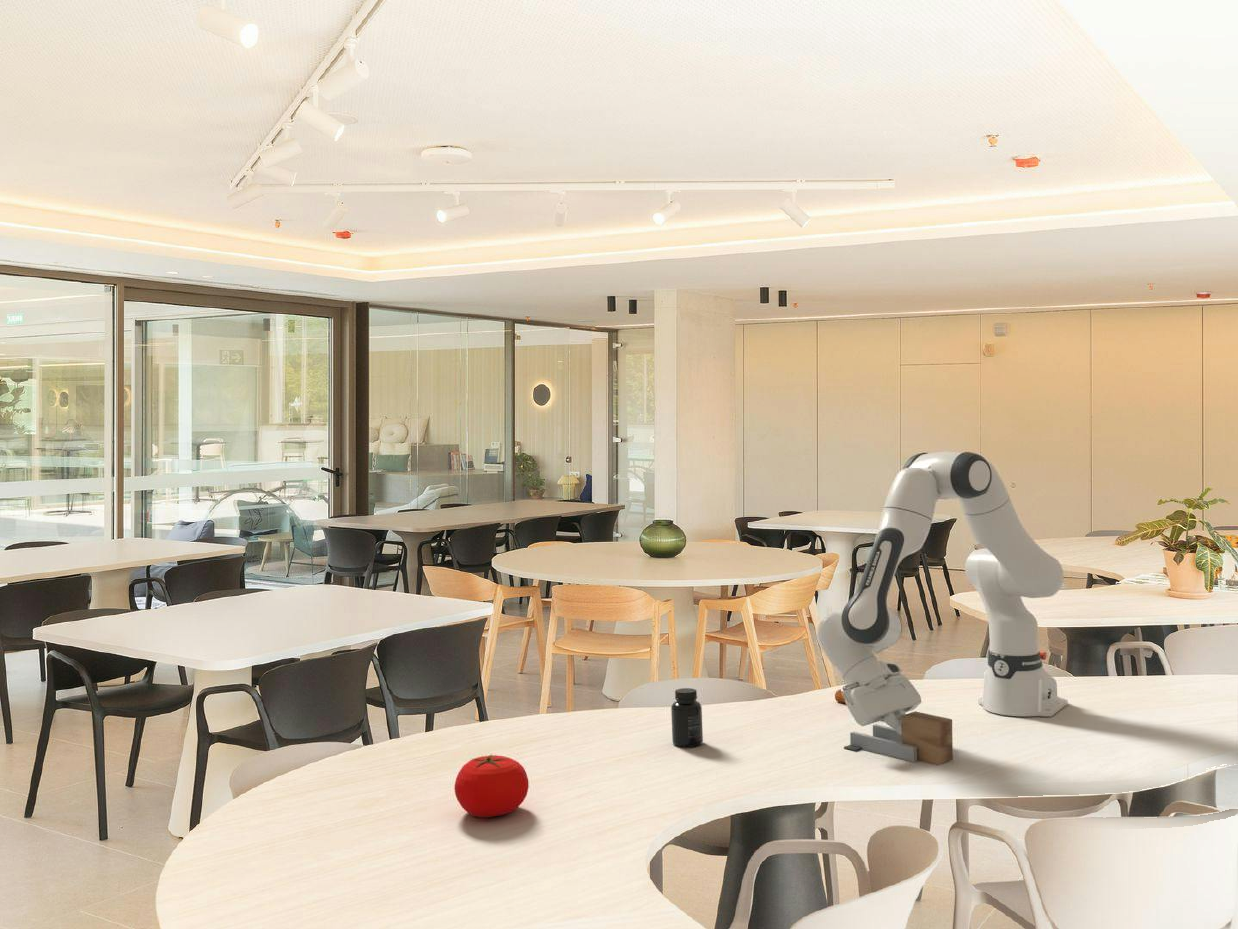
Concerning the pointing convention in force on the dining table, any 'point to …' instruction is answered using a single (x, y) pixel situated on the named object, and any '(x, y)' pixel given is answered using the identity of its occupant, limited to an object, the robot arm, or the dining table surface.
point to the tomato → (491, 786)
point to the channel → (883, 743)
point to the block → (928, 736)
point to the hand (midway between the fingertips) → (906, 732)
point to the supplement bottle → (686, 719)
